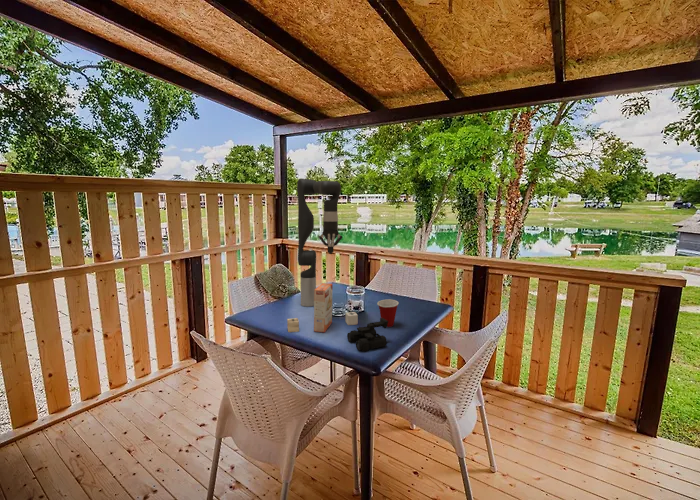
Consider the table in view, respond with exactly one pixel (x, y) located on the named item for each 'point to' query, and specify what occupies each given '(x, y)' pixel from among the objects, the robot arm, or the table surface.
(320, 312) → the cracker box
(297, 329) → the birch block
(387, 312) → the plastic cup
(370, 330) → the night vision goggles
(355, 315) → the beige wooden cube
